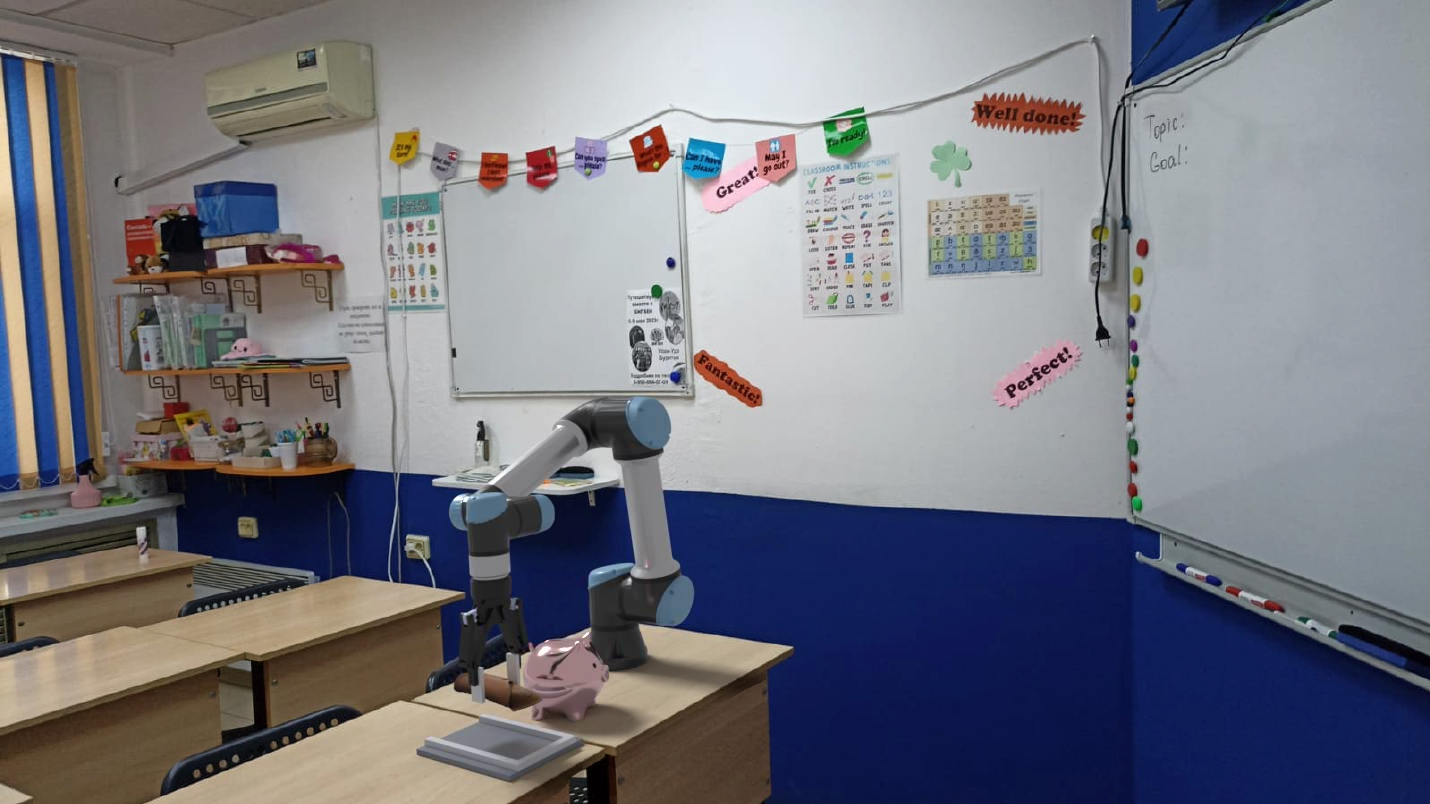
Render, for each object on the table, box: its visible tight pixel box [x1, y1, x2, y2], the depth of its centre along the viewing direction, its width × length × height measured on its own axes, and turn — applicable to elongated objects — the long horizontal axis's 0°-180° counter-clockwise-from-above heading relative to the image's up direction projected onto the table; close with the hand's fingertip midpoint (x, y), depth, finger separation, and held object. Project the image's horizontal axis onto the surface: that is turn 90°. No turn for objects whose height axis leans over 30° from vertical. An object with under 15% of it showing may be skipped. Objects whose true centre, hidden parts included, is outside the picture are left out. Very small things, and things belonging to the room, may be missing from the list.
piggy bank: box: [522, 631, 610, 722], centre depth 204 cm, size 15×18×16 cm
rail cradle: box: [416, 713, 584, 782], centre depth 186 cm, size 19×25×2 cm
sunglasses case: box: [453, 672, 543, 712], centre depth 185 cm, size 18×7×7 cm, turn 49°
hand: (496, 694), depth 185 cm, fingers closed on sunglasses case, 8 cm apart
